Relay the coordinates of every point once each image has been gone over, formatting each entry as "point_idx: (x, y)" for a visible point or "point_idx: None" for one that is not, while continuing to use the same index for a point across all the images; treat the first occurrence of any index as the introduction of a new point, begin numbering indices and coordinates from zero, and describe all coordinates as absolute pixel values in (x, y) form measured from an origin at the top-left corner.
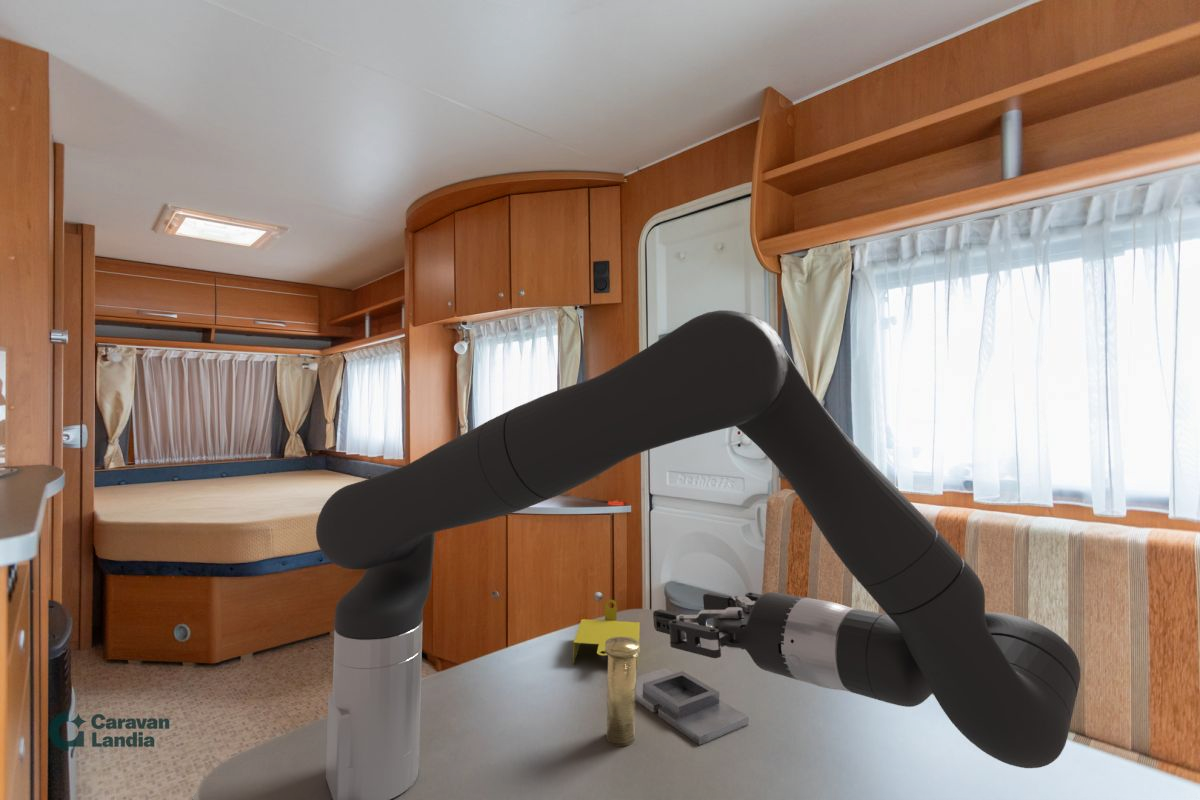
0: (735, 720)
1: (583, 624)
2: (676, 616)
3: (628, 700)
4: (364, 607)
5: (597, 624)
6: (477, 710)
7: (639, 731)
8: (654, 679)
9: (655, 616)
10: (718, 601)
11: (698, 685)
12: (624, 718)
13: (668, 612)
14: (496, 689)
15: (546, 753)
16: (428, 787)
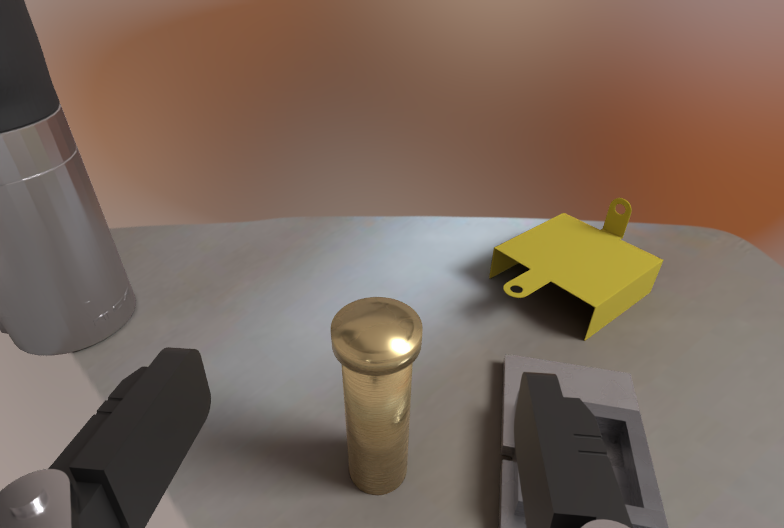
0: None
1: (553, 222)
2: (30, 474)
3: (366, 437)
4: None
5: (577, 232)
6: (283, 285)
7: (426, 477)
8: (576, 386)
9: (131, 375)
10: (536, 465)
11: (636, 472)
12: (359, 456)
13: (138, 401)
14: (343, 266)
15: (251, 412)
16: (88, 364)
